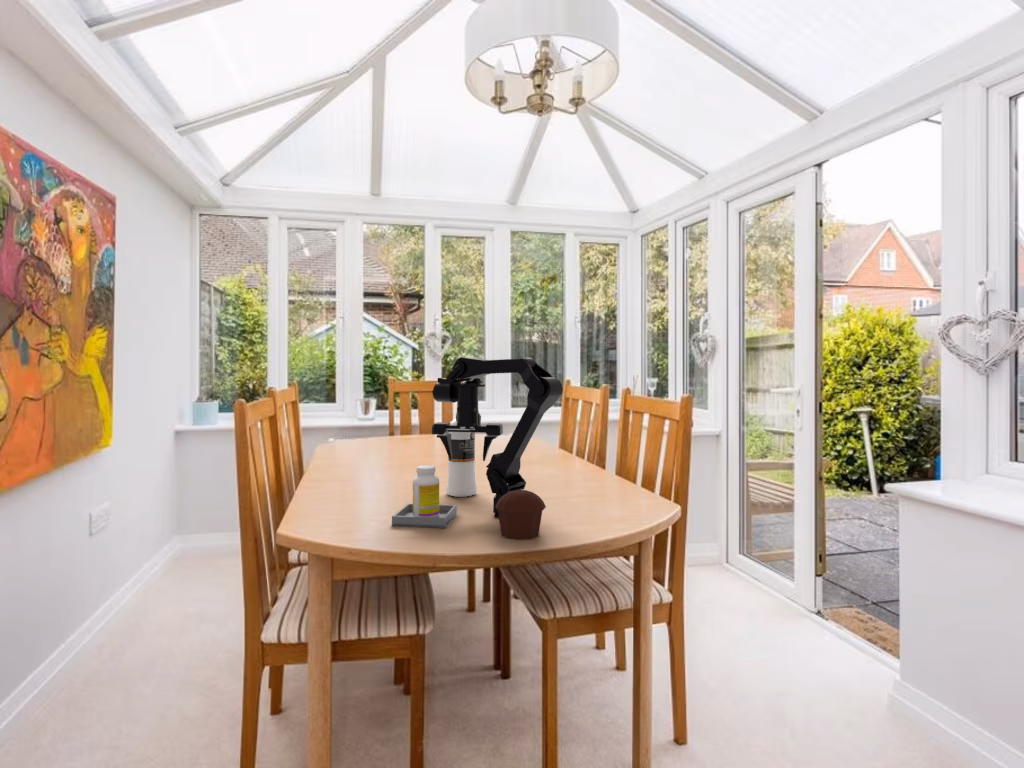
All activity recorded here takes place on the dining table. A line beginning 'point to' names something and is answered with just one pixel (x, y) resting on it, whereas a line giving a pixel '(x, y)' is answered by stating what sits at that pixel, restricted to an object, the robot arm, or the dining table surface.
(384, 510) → the dining table surface
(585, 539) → the dining table surface
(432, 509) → the supplement bottle
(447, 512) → the tray
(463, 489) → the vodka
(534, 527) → the muffin
